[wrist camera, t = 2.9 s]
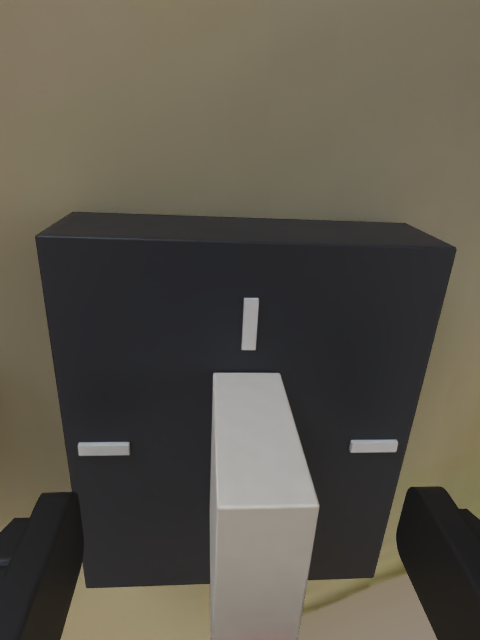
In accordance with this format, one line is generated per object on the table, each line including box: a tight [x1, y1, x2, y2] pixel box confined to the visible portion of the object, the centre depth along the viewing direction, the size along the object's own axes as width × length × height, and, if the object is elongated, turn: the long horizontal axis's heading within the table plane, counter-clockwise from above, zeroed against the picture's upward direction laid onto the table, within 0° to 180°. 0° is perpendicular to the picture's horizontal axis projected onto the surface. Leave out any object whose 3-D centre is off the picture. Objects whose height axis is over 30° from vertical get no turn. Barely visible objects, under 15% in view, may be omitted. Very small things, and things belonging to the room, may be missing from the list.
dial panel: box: [35, 212, 456, 588], centre depth 14 cm, size 12×10×3 cm
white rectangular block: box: [210, 373, 320, 640], centre depth 10 cm, size 5×2×5 cm, turn 177°
